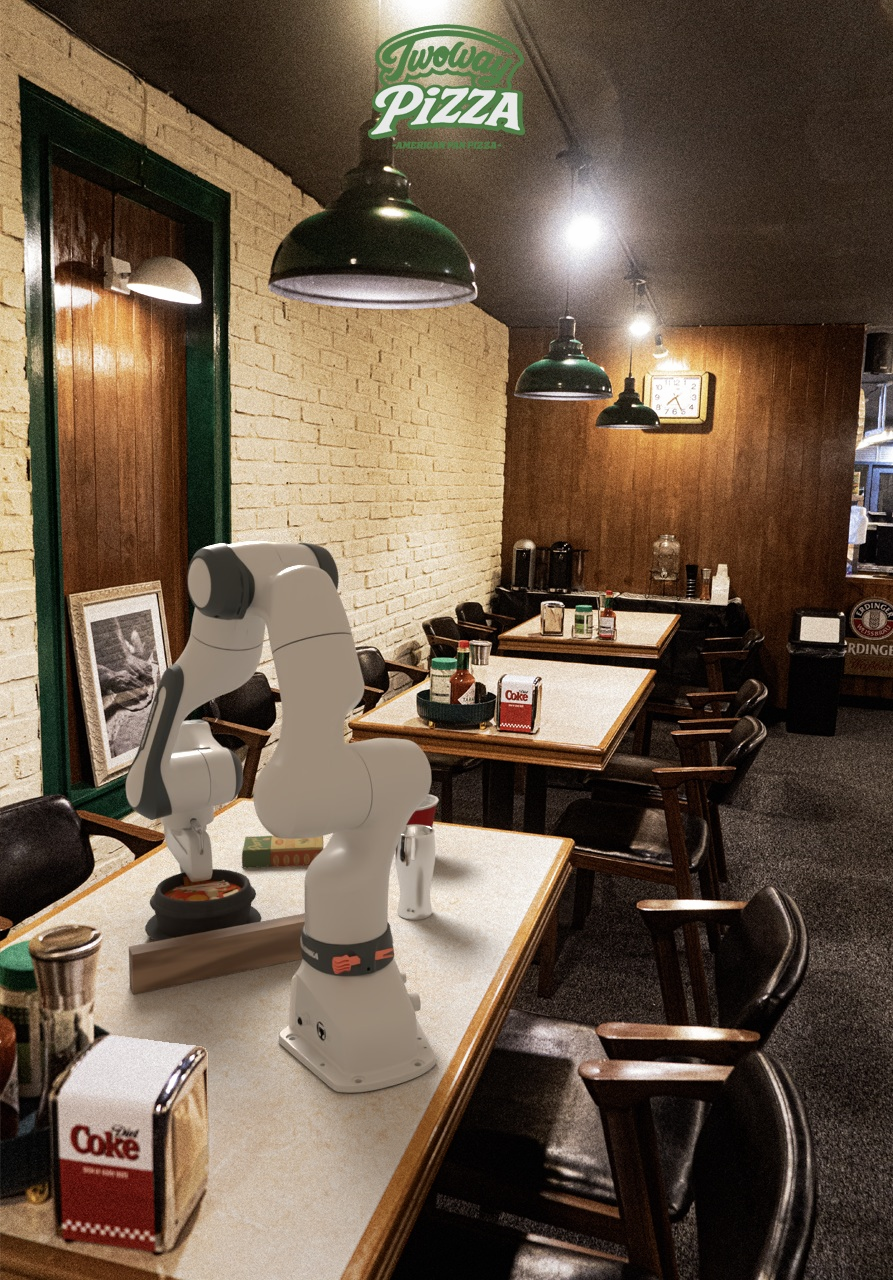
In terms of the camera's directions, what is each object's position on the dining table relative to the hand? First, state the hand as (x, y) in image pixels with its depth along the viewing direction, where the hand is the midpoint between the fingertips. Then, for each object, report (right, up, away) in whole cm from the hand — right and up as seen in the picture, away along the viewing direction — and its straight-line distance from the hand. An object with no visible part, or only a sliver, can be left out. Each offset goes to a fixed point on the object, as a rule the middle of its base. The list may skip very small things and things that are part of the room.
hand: (189, 888), depth 167 cm
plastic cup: (+38, -1, +29) cm, 48 cm away
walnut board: (+12, -7, -21) cm, 25 cm away
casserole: (+5, -5, -8) cm, 11 cm away
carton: (+12, -2, +27) cm, 29 cm away
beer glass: (+39, -5, +1) cm, 40 cm away
